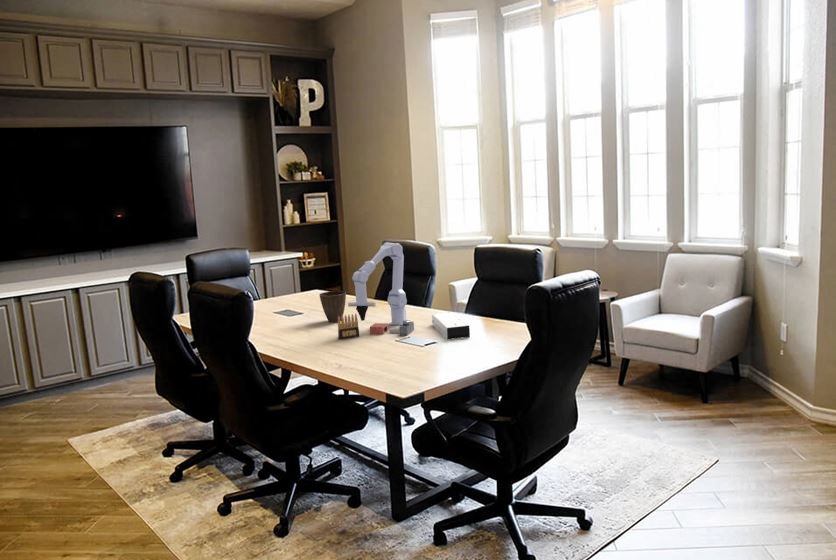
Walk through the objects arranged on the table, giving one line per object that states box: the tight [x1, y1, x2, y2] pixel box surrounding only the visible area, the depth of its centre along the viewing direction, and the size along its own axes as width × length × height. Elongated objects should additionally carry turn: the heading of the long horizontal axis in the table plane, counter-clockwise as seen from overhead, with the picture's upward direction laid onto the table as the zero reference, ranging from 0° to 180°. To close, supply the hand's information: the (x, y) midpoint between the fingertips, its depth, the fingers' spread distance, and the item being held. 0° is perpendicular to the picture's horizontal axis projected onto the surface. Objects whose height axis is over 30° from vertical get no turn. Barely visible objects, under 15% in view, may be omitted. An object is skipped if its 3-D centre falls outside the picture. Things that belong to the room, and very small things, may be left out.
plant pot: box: [319, 290, 347, 323], centre depth 384 cm, size 15×15×16 cm
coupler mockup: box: [388, 319, 415, 337], centre depth 349 cm, size 12×11×6 cm
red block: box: [369, 322, 389, 335], centre depth 352 cm, size 8×7×4 cm
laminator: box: [431, 311, 471, 340], centre depth 346 cm, size 34×12×6 cm, turn 11°
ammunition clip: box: [337, 313, 361, 340], centre depth 343 cm, size 11×2×12 cm, turn 112°
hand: (362, 320), depth 354 cm, fingers closed
